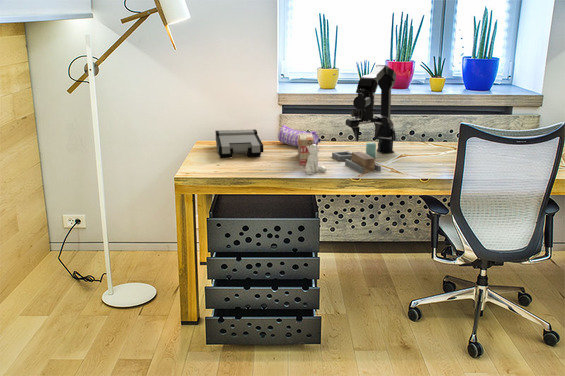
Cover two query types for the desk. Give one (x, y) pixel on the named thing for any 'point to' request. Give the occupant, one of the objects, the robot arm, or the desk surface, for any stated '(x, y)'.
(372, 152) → the nose cylinder
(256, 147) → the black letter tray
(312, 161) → the sitting furry creature
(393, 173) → the desk surface
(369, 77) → the robot arm
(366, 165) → the block
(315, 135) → the pencil case
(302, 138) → the stack of blocks
